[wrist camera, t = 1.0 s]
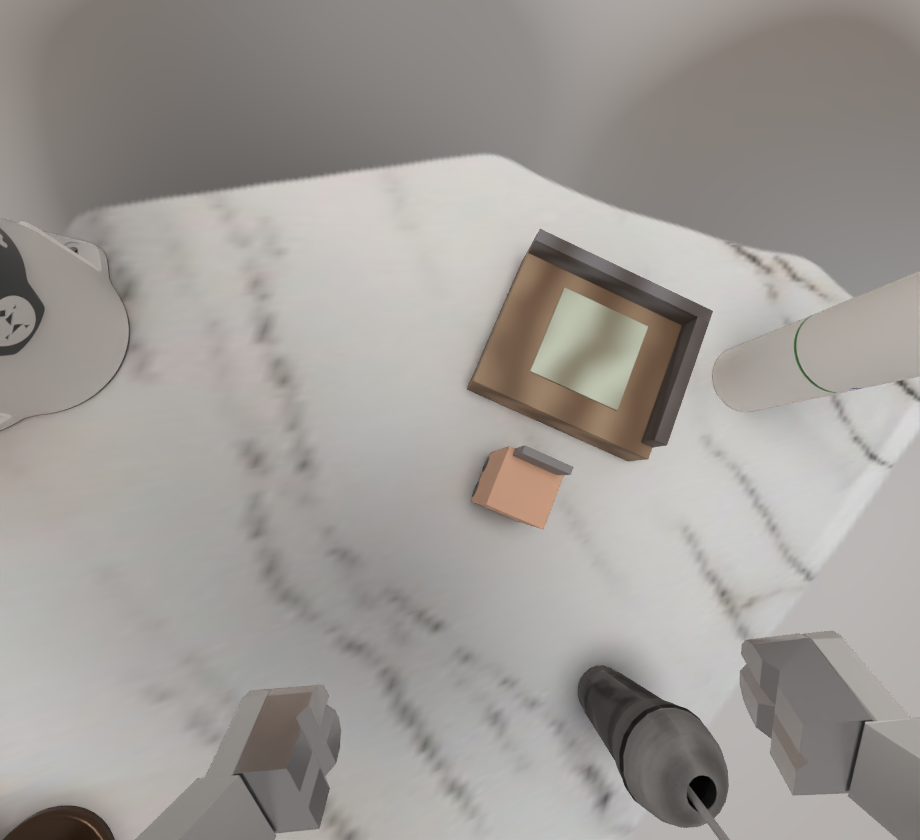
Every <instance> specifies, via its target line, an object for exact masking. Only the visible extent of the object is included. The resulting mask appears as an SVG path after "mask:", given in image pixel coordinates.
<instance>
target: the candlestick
mask: <svg viewBox="0 0 920 840" xmlns="http://www.w3.org/2000/svg"><path fill="white" fill-rule="evenodd" d="M4 840H115V839H114V837H113V835H112V833H111V830H110V828H109V827H108V826H107V825H106V823H105V822H104V821H103V820H102V819H101V818H100V817H99V816H97V815H96V814H95V813H93V812H91V811H89V810H87V809H85V808H80V807H76V806H57V807H52V808H48V809H45V810H43V811H40V812H37V813H36V814H34V815H32V816H31V817H29V818H27V819H26V820H24V821H23V822H22V823H21V824H20V825H18V826H17V827H16V828H15V829H14V830H13V831H12V832H10V833H9V834H8V835H7V836H6V837H5V838H4Z"/></svg>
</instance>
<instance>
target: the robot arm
mask: <svg viewBox="0 0 920 840" xmlns="http://www.w3.org/2000/svg"><path fill="white" fill-rule="evenodd" d="M75 251H78V253H75ZM128 337H129V325H128V318H127V314H126V311H125V308H124V305H123V303H122V301H121V299H120V297H119V296H118V294H117V292H116V291H115V289H114V288H113V286H112V284H111V282H110V280H109V272H108V263H107V258H106V255H105V253H104V251H103V250H102V249H101V248H99V247H97V246H96V245H94V244H92V243H89V242H86V241H82V240H78V239H73V238H69V237H65V236H61V235H57V234H53V233H49V232H45V231H41V230H39V229H38V228H36V227H35V226H33V225H31V224H29V223H27V222H25V221H20V222H18V223H16V222H13V221H10V220H6V219H2V218H0V430H3V429H5V428H7V427H9V426H11V425H13V424H15V423H17V422H18V421H20V420H22V419H24V418H26V417H30V416H34V415H41V414H48V413H54V412H58V411H62V410H65V409H68V408H71V407H73V406H76V405H78V404H80V403H82V402H84V401H85V400H87V399H89V398H90V397H92V396H93V395H95V394H96V393H97V392H98V391H100V390H101V389H102V388H103V387H104V386H105V385H106V384H107V383H108V382H109V381H110V379H111V378H112V377H113V376H114V374H115V373H116V371H117V370H118V368H119V366H120V364H121V362H122V360H123V358H124V355H125V352H126V349H127V344H128ZM741 655H742V657H743V658H744V660H745V662H746V665H745V666H744V667H743V668H742V669H741V670H740V688H741V692H742V696H743V700H744V703H745V705H746V708H747V710H748V712H749V715H750V716H751V719H752V720H753V722H754V724H755V726H756V728H758V729H759V730H760V731H762V732H763V733H764V734H766V735H767V736H768V737H770V738H771V748H770V749H771V750H770V754H771V756H772V758H773V760H774V762H775V764H776V765H777V767H778V769H779V771H780V773H781V775H782V776H783V778H784V780H785V782H786V784H787V786H788V788H789V789H790V791H791V793H792V795H814V794H839V793H849V794H848V797H849V798H851V799H852V800H853V801H854V802H855V803H856V804H858V805H859V806H860V807H861V808H862V809H863V810H865V811H866V812H867V813H868V814H869V815H870V816H872V817H873V818H874V819H875V820H876V821H877V822H878V823H880V824H881V825H882V826H883V827H884V828H885V829H886V830H888V831H889V832H890V833H891V834H892V835H893V836H895V837H896V838H897V839H898V840H920V718H911V717H910V716H909V715H908V713H907V712H906V711H905V710H904V709H903V708H902V706H901V705H900V704H899V703H898V702H897V701H896V699H895V698H894V697H893V696H892V695H891V694H890V692H889V691H888V690H887V689H886V688H885V687H884V685H882V683H881V682H880V681H879V680H878V679H877V677H876V676H875V675H874V674H873V673H872V671H871V670H870V669H869V668H868V667H867V666H866V664H865V663H864V662H863V661H862V660H861V659H860V657H859V656H858V655H857V654H856V653H855V652H854V650H853V649H852V648H851V647H850V646H849V645H848V644H847V642H846V641H845V640H844V639H843V638H842V636H841V635H839V634H837V633H836V632H834V631H824V632H816V633H807V634H791V635H782V636H774V637H765V638H757V639H749V640H745V641H744V642H743V644H742V649H741ZM328 697H329V695H328V693H327V691H326V689H325V687H324V685H315V686H302V687H288V688H274V689H264V690H253V691H249V692H248V693H247V694H246V696H245V697H244V698H243V699H242V701H241V703H240V705H239V707H238V709H237V711H236V713H235V715H234V718H233V720H232V722H231V724H230V726H229V728H228V730H227V732H226V734H225V736H224V738H223V740H222V743H221V745H220V747H219V749H218V751H217V753H216V755H215V757H214V759H213V761H212V763H211V766H210V768H209V770H208V772H207V774H206V776H205V778H197V779H196V780H195V781H194V782H193V783H192V784H191V785H190V786H189V787H188V788H187V789H186V790H185V791H184V792H183V793H182V794H181V795H180V796H179V797H178V798H177V799H176V800H175V801H174V802H173V803H172V804H171V805H170V806H169V807H168V808H167V809H166V810H165V811H164V812H163V813H162V814H161V815H160V816H159V817H158V818H157V819H156V820H155V821H154V822H153V823H152V824H151V825H150V826H149V827H148V828H147V829H146V830H145V831H144V832H142V833H141V834H140V835H139V836H138V837H137V838H136V839H135V840H274V839H275V838H276V834H275V833H283V832H293V831H302V830H312V829H319V828H320V824H321V820H322V816H323V813H324V809H325V805H326V801H327V797H328V793H329V789H330V788H329V785H328V783H327V780H326V777H325V776H326V775H327V774H328V772H329V771H330V770H331V769H332V767H333V766H334V765H335V764H336V761H337V757H338V753H339V748H340V735H341V729H340V723H339V718H338V715H337V713H336V711H335V710H334V709H332V708H331V707H329V706H328V705H326V704H327V701H328Z"/></svg>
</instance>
